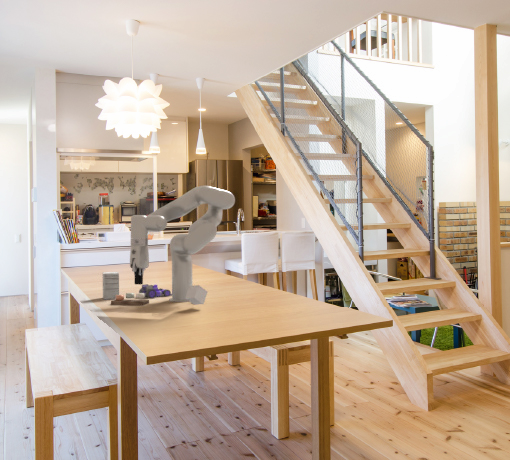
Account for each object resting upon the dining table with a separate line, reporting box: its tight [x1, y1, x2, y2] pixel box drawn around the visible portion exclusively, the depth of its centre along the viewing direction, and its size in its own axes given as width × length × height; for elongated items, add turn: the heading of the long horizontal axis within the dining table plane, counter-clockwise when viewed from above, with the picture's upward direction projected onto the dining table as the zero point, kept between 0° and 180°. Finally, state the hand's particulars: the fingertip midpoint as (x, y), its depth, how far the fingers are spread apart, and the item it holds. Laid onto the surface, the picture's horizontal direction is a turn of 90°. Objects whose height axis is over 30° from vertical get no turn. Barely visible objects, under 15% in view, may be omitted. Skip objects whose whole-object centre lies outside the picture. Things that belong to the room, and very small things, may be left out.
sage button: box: [125, 292, 135, 299], centre depth 214 cm, size 4×4×2 cm
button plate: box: [110, 298, 150, 306], centre depth 214 cm, size 16×6×2 cm, turn 77°
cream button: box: [135, 292, 146, 300], centre depth 213 cm, size 4×4×2 cm
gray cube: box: [185, 284, 209, 305], centre depth 208 cm, size 6×6×6 cm
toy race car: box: [138, 284, 172, 299], centre depth 239 cm, size 10×15×6 cm, turn 129°
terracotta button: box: [115, 294, 125, 300], centre depth 215 cm, size 4×4×2 cm
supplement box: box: [102, 271, 120, 301], centre depth 233 cm, size 7×7×13 cm
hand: (138, 284), depth 213 cm, fingers closed
